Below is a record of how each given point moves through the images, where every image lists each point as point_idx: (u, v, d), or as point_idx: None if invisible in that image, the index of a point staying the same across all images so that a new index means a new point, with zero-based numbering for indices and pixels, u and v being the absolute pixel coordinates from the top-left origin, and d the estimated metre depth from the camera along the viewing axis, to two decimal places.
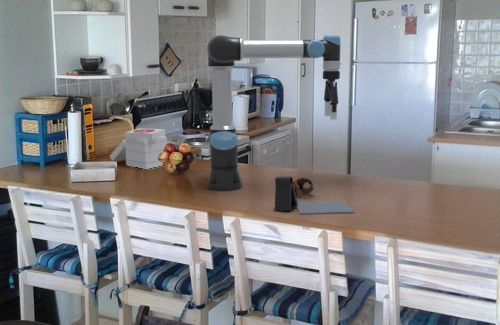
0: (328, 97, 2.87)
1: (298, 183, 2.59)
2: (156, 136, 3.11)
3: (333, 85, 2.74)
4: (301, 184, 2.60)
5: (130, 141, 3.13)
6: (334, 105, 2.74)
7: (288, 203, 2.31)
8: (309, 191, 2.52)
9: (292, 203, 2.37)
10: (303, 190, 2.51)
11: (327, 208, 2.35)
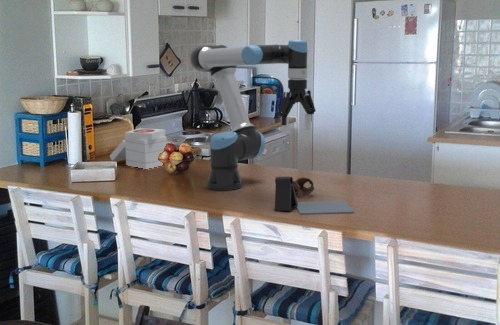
0: (306, 109, 2.57)
1: (299, 183, 2.59)
2: (156, 136, 3.11)
3: (284, 95, 2.47)
4: (302, 184, 2.60)
5: (130, 141, 3.13)
6: (282, 117, 2.47)
7: (288, 203, 2.31)
8: (310, 191, 2.53)
9: (292, 203, 2.37)
10: (304, 190, 2.51)
11: (327, 208, 2.35)
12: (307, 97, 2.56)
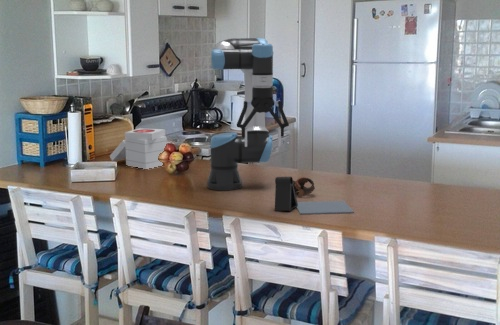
0: None
1: (299, 183, 2.60)
2: (156, 136, 3.11)
3: None
4: (302, 184, 2.60)
5: (130, 141, 3.13)
6: None
7: (288, 203, 2.31)
8: (310, 191, 2.53)
9: (292, 203, 2.37)
10: (304, 190, 2.52)
11: (327, 208, 2.35)
12: (278, 108, 2.28)
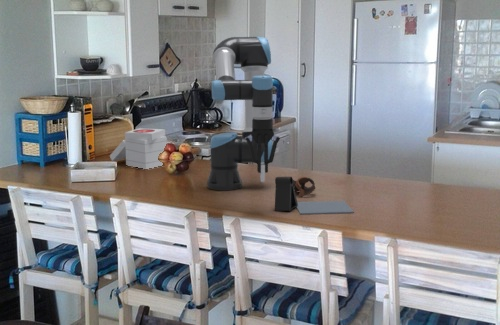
0: (264, 156, 2.31)
1: (300, 182, 2.60)
2: (156, 136, 3.11)
3: None
4: (303, 183, 2.61)
5: (130, 141, 3.13)
6: (257, 164, 2.31)
7: (288, 203, 2.31)
8: (311, 190, 2.54)
9: (292, 203, 2.37)
10: (305, 189, 2.52)
11: (327, 208, 2.35)
12: (273, 143, 2.30)
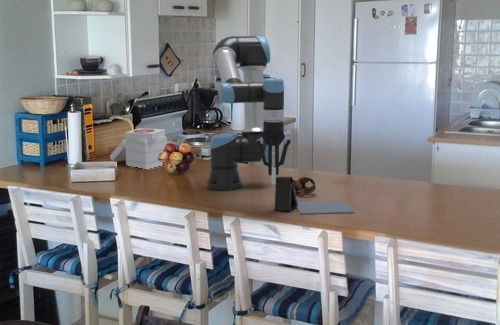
0: (275, 158, 2.31)
1: (300, 182, 2.60)
2: (156, 136, 3.11)
3: None
4: (303, 183, 2.61)
5: (130, 141, 3.13)
6: (268, 167, 2.32)
7: (288, 203, 2.31)
8: (311, 190, 2.54)
9: (292, 203, 2.37)
10: (306, 189, 2.53)
11: (327, 208, 2.35)
12: (284, 145, 2.31)
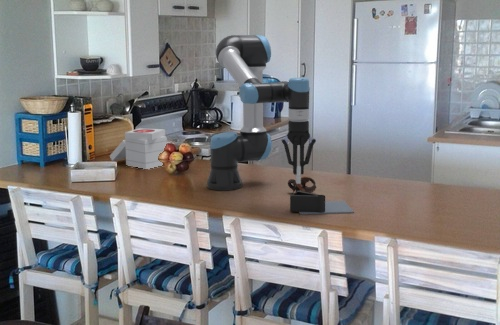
0: (300, 157, 2.32)
1: None
2: (156, 136, 3.11)
3: None
4: (303, 183, 2.61)
5: (130, 141, 3.13)
6: (293, 166, 2.33)
7: (297, 210, 2.30)
8: (312, 190, 2.54)
9: None
10: (306, 189, 2.53)
11: (327, 208, 2.35)
12: (309, 144, 2.31)
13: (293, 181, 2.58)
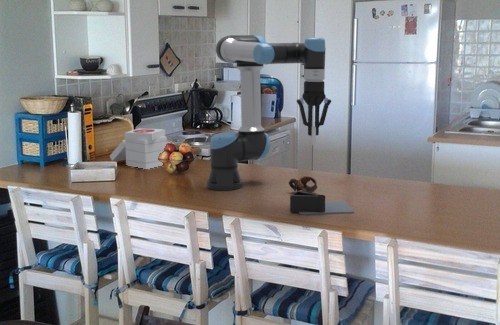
0: (315, 118, 2.31)
1: (301, 181, 2.62)
2: (156, 136, 3.11)
3: (298, 104, 2.30)
4: (304, 182, 2.62)
5: (130, 141, 3.13)
6: (308, 127, 2.32)
7: (297, 210, 2.30)
8: (313, 189, 2.55)
9: None
10: (307, 188, 2.54)
11: (327, 208, 2.35)
12: (324, 105, 2.30)
13: (294, 181, 2.58)
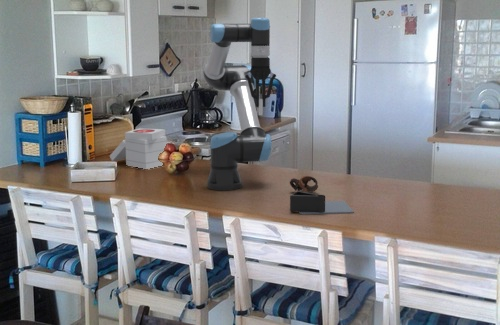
0: (262, 91, 2.56)
1: (302, 181, 2.62)
2: (156, 136, 3.11)
3: (246, 78, 2.54)
4: (305, 182, 2.63)
5: (130, 141, 3.13)
6: None
7: (297, 210, 2.30)
8: (314, 189, 2.56)
9: None
10: (308, 188, 2.54)
11: (327, 208, 2.35)
12: (270, 79, 2.55)
13: (295, 180, 2.59)
